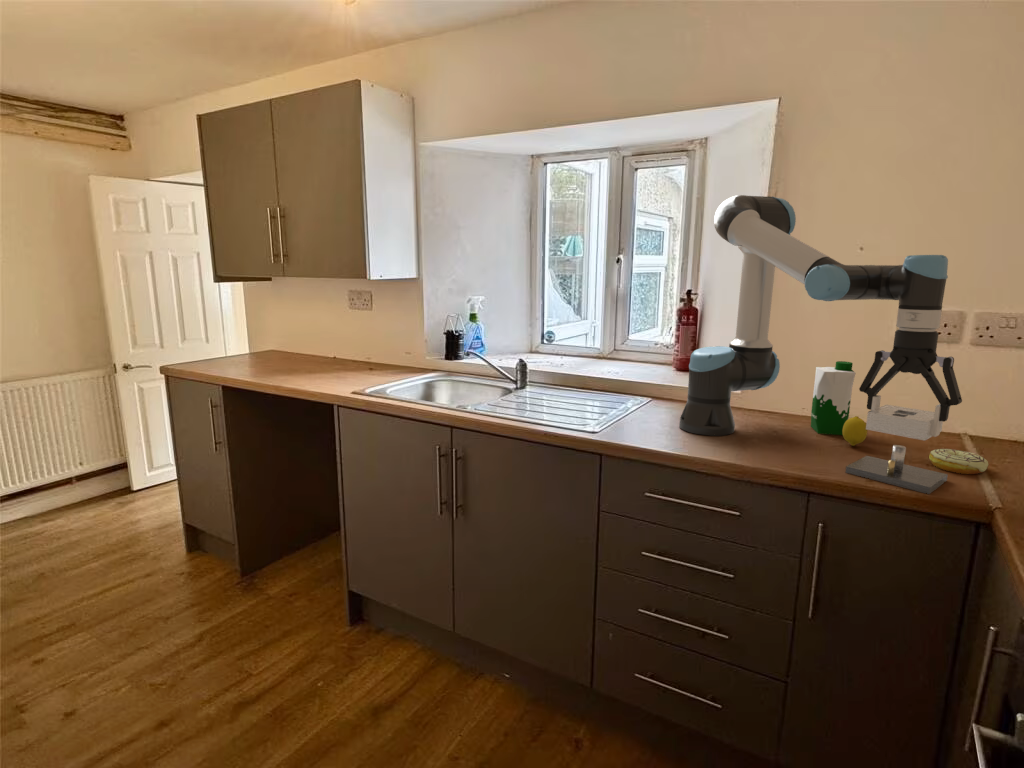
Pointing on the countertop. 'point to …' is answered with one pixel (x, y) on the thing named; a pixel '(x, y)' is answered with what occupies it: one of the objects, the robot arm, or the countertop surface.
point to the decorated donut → (958, 461)
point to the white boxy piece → (901, 421)
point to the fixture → (897, 472)
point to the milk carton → (832, 398)
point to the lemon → (854, 430)
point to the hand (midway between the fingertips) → (903, 429)
